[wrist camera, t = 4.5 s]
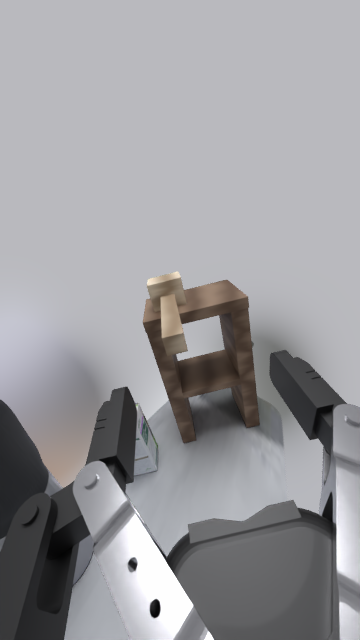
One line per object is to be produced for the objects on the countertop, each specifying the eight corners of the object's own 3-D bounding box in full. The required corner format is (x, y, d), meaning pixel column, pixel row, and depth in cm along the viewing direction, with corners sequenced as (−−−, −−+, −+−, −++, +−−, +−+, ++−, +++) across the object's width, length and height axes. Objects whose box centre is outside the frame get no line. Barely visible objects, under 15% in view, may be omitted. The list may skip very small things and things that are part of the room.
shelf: (183, 445, 49) (142, 322, 36) (179, 405, 60) (146, 299, 47) (260, 426, 49) (247, 296, 36) (241, 389, 60) (227, 279, 47)
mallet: (152, 359, 25) (140, 322, 23) (155, 302, 44) (148, 279, 42) (202, 347, 25) (194, 309, 23) (183, 295, 44) (178, 271, 41)
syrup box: (158, 471, 45) (137, 424, 39) (130, 477, 46) (105, 431, 40) (158, 445, 51) (139, 401, 45) (133, 451, 51) (112, 407, 45)
